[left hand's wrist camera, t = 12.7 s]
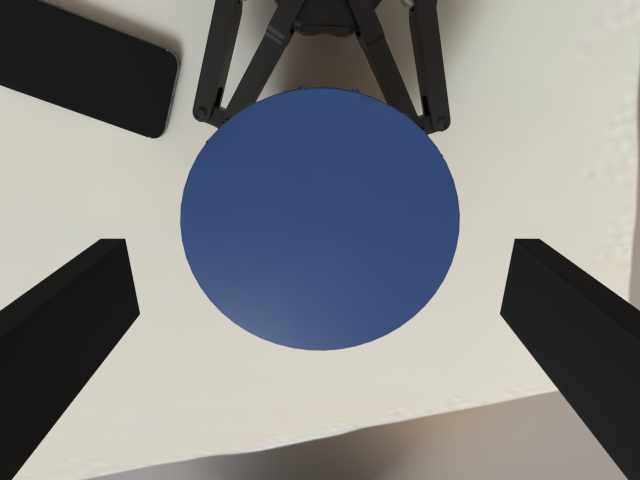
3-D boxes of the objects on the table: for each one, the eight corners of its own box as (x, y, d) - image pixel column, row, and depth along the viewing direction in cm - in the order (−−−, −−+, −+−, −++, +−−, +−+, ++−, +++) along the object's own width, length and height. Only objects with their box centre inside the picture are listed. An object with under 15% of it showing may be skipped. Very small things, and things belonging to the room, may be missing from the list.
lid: (213, 325, 20) (200, 355, 18) (175, 90, 16) (153, 92, 14) (433, 319, 20) (447, 348, 18) (453, 80, 16) (475, 80, 14)
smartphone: (161, 142, 34) (-25, 77, 32) (164, 141, 34) (-18, 77, 32) (180, 54, 31) (-21, -24, 29) (183, 54, 32) (-14, -22, 30)
